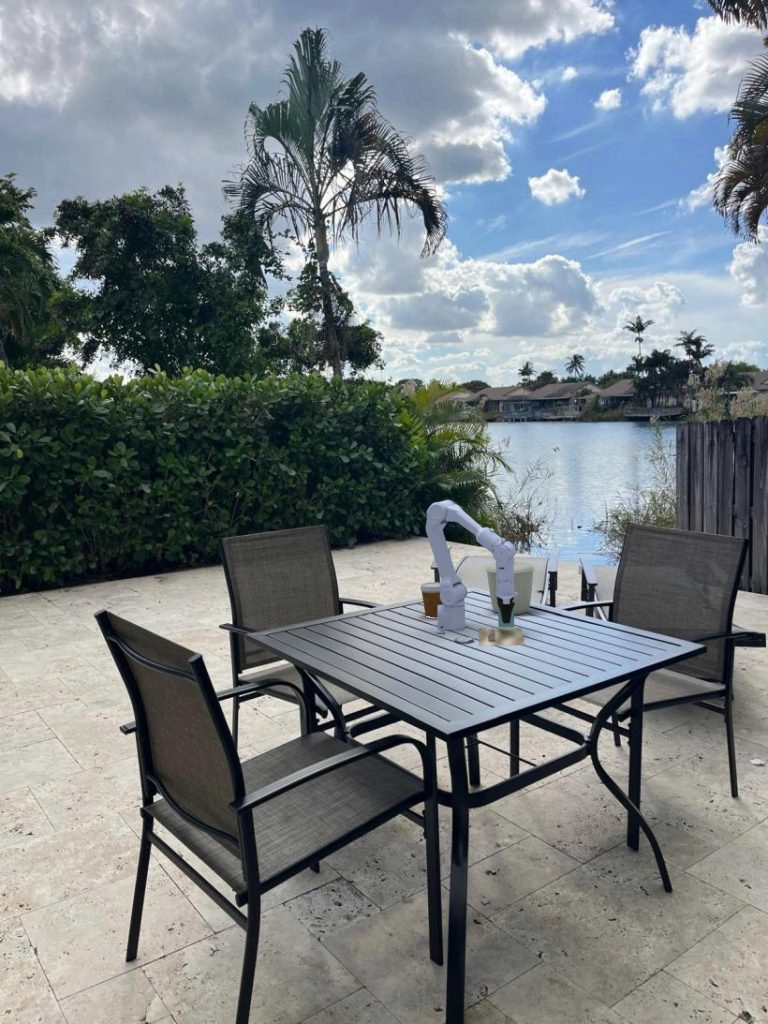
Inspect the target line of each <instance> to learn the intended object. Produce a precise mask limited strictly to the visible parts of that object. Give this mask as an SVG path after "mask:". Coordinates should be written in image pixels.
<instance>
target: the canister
mask: <svg viewBox="0 0 768 1024" xmlns="http://www.w3.org/2000/svg"><path fill="white" fill-rule="evenodd" d="M511 559H512V558H511ZM509 560H510V559H509ZM513 562H514V592H517V593H518V596H514V599H513V602H515V605H514V616H515V615H522V614H524V613H527V612H528V611H529V610H530V606H531V599H532V591H533V580H534V579H533V578H534V571H535V570H536V567H535V566H534V565H532V564H530V563H527V562H525V561H524V562H523V561H515V556H514V557H513ZM484 571H486V574H487V575H486V576H487V581H488V582H487V583H488V589H489V596H490V601H491V607H492V609H493V611H494V612H495V613H497V614H498V604H497V601H498V600H497V596H496V593H497V592H496V562H494V563H493V562H492V563H490V564H489V565H488V566H486V567H485V568H484Z"/></svg>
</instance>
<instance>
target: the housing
mask: <svg viewBox="0 0 768 1024" xmlns="http://www.w3.org/2000/svg"><path fill="white" fill-rule="evenodd" d="M497 622H498V623H497V624H498V628H515V615H514V607H513V610H512V613H511V620H510V623H503V621H502V616H501V611H500V608H499V606H498V613H497Z"/></svg>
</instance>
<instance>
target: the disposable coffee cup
mask: <svg viewBox="0 0 768 1024" xmlns="http://www.w3.org/2000/svg"><path fill="white" fill-rule="evenodd" d="M439 585H440V582H437V581H436V582H425V583H422V584H421V585H420V591H421V595H422V596H421V598H422V601H423V603H422V604H423V608H424V614H425V615H426V616H430V617H438V605H443V603H442V602H441V600H440V588H439ZM426 616H425V617H426Z"/></svg>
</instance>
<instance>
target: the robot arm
mask: <svg viewBox="0 0 768 1024" xmlns="http://www.w3.org/2000/svg"><path fill="white" fill-rule="evenodd" d="M426 515H427V516H426V525H425V532H426V536H427V538H428V542H429V545H430V549H431V551H432V554H433V557H434V558H433V559H434V561H435V564H436V567H437V571H438V574H439V577H440V582H439V583H440V585H439V588H440V600H441V602H442V603H443V605H438V619H437V621H436V624H437V625H436V626H437V627H436V628H437V633H438V634H446V631H448V630H449V631H458V630H459V631H460V630H463V629H465V628H466V603H465V599H466V598H467V596H468V589H467V587H466V586H465V584H464V582H463V581H462V579H461V577H460V576H459V575H458V574H457V572H456V570H455V566H454V563H453V560H452V557H451V553H450V549H449V546H448V544H447V541H446V537H445V535H444V534H445V533H444V531H443V530H444V528H445V527H446V525H447V523H448V522H453V523H454V522H455V523H458V524H459V525H460V526H462V527H463V528H465V529H467V531H469V532H470V533H471V534H473V535H474V536H475V539H476V542H477V543H478V544H480V545H481V546H482V547H483V548H485V549H486V550H488V552H490V554H492V558H493V559H494V560H495V563H496V592H497V593H496V596H497V600H498V601H497V604H498V606H499V608H500V611H501V616H502V621H503V623H510V620H511V613H512V610H513V607H514V605H515V602H513V599H514V596H518V593H517V592H514V562H513V557H514V558H515V555H516V552H517V549H516V547H515V545H514V544H513V543H512V542H511V541H507V540H506V539H505V538H504V537H501V536H499V535H498V534H497V533H495V532H494V531H495V530H494V529H493V528H492V527H491V528H489V527H488V526H487V527H482V526H481V525H480V524H479V523H478V522H477V521H475V520H474V519H473V518H472V517H471V516H470V515H468V514H467V513H466V512H465V511H464V510H463V509H462V508H461V506H460V505H458V504H456V503H455V502H454V501H452V500H450V499H445V500H442V501H437V502H436V501H435V502H433V503H431V505H430V506H429V507H428V509H427V510H426ZM511 558H512V559H511ZM509 559H510V560H509Z"/></svg>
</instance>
